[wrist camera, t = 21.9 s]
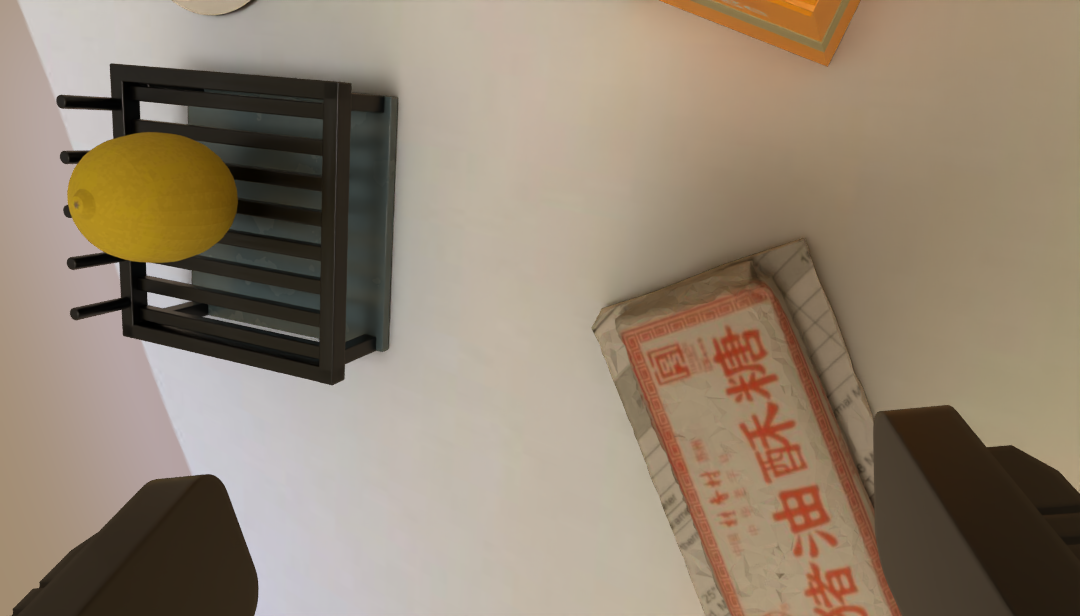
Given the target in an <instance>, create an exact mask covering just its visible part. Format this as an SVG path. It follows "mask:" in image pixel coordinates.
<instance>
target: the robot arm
mask: <svg viewBox="0 0 1080 616" xmlns="http://www.w3.org/2000/svg"><path fill="white" fill-rule="evenodd" d="M873 454H874V512H875V535H876V542H877V548H878V553H879V558H880V562H881V566H882V569H883V573H884V576H885V579H886V581H887V584H888V586H889V588H890V591H891V593H892V595H893V597H894V599H895V601H896V604H897V606H898V608H899V610H900V612H901V614H902V616H1080V494H1079V492H1078V491H1077V490H1076V489H1075V488H1074V487H1073V486H1072V485H1071V484H1070V483H1069V482H1068V481H1067V480H1066V479H1065V477H1064V476H1063V475H1062V474H1061V473H1060V472H1059V471H1057V470H1056V469H1054V468H1052V467H1050V466H1048V465H1047V464H1045V463H1043V462H1041V461H1039V460H1038V459H1036V458H1034V457H1032V456H1030V455H1028V454H1027V453H1025V452H1023V451H1021V450H1019V449H1018V448H1016V447H1014V446H1012V445H1009V446H998V447H986V446H985V445H984V444H983V443H982V441H981V440H980V439H979V438H978V436H977V435H976V434H975V433H974V432H973V430H972V429H971V428H970V427H969V425H968V424H967V423H966V422H965V421H964V419H963V418H962V417H961V416H960V415H959V413H958V412H957V411H956V410H955V409H954V408H953V407H952V406H950V405H942V406H931V407H921V408H910V409H900V410H890V411H880V412H877V414H876V416H875V419H874V425H873ZM257 602H258V578H257V573H256V570H255V567H254V564H253V561H252V558H251V556H250V553H249V550H248V547H247V545H246V542H245V539H244V536H243V534H242V531H241V528H240V525H239V523H238V520H237V517H236V515H235V512H234V509H233V506H232V504H231V501H230V498H229V495H228V493H227V490H226V488H225V486H224V484H223V483H222V482H221V480H220V479H219V478H217V477H216V476H214V475H210V474H206V475H195V476H185V477H175V478H165V479H156V480H152V481H150V482H148V483H147V484H146V485H144V486H143V487H142V488H141V489H140V490H139V491H138V492H137V493H136V494H135V495H134V496H133V497H132V498H131V499H130V500H129V501H128V502H127V503H126V504H125V505H124V507H123V508H121V510H120V511H119V512H118V513H117V514H116V515H115V516H114V517H113V518H112V519H111V520H110V521H109V522H108V523H107V524H106V525H105V526H104V527H103V528H102V529H101V530H100V531H99V532H98V533H96V534H95V535H93V536H92V537H90V538H89V539H88V540H86V541H84V542H83V543H81V544H80V545H78V546H77V547H76V548H74V549H73V550H71V551H70V552H69V553H68V554H67V555H66V556H65V557H64V558H63V559H62V560H61V561H60V562H59V563H58V564H57V565H56V566H55V567H54V568H53V569H52V570H51V571H50V572H49V573H48V574H47V575H46V576H45V577H44V578H43V579H42V580H41V581H40V587H39V588H37V589H32V590H31V591H30V592H29V593H28V594H27V595H26V596H25V597H24V599H22V600H21V602H19V603H18V604H17V606H16V607H14V608H13V615H12V616H254V614H255V611H256V607H257Z"/></svg>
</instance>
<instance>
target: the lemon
mask: <svg viewBox="0 0 1080 616" xmlns="http://www.w3.org/2000/svg"><path fill="white" fill-rule="evenodd" d="M67 192H68V194H67V195H68V206H69V210H70V214H71V216H72V218H73V221H74V222H75V224H76V226H77V228H78V229H79V230H80V232H81V233H82V234H83V235H84V236H85V238H86V239H87V240H88V241H89V242H90V243H92V244H93V245H94V246H96V247H97V248H99V249H100V250H102V251H103V252H105V253H107V254H109V255H112V256H115V257H118V258H122V259H125V260H129V261H135V262H151V263H164V262H175V261H179V260H183V259H186V258H189V257H192V256H195V255H198V254H200V253H203V252H205V251H206V250H208V249H210V248H211V247H212V246H213V245H215V244H216V243H217V242H219V241H220V240H221V239H222V238H223V237H224V235H225V234H226V233H227V231H228V230H229V228H230V227H231V225H232V223H233V220H234V218H235V215H236V212H237V205H238V197H237V188H236V185H235V181H234V178H233V176H232V174H231V172H230V170H229V168H228V167H227V166H226V165H225V163H224V162H223V161H222V160H221V158H220V157H219V156H218V155H216V154H215V153H214V152H213V151H211V150H210V149H209V148H208V147H207V146H205V145H203V144H201V143H199V142H197V141H194V140H192V139H190V138H187V137H184V136H180V135H176V134H168V133H158V132H143V133H136V134H131V135H127V136H123V137H118V138H115V139H112V140H109V141H106V142H104V143H102V144H100V145H98V146H96V147H95V148H94V149H92V150H91V151H89V152H88V153H87V154H86V155H84V156H83V157H82V159H81V160H80V161H79V163H78V164H77V165H76V167H75V168H74V170H73V173H72V175H71V178H70V181H69V185H68V191H67Z"/></svg>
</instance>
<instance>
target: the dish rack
mask: <svg viewBox="0 0 1080 616" xmlns="http://www.w3.org/2000/svg"><path fill="white" fill-rule="evenodd" d="M110 79H111V97H112V98H107V97H90V96H73V95H59V96H58V97H57V99H56V102H57V105H58V106H59V107H60V108H63V109H88V110H112V118H113V139H115V138H118V137H123V136H127V135H131V134H136V133H143V132H158V133H168V134H176V135H180V136H184V137H187V138H190V139H192V140H194V141H197V142H199V143H201V144H203V145H205V146H207V147H208V148H209V149H210V150H211V151H213V152H214V153H215V154H216V155H218V156H219V157H220V158H221V160H222V161H223V162H224V163H225V165H226V166H227V167H228V168H229V170H230V172H231V174H232V176H233V178H234V181H235V185H236V188H237V197H238V205H237V212H236V215H235V218H234V220H233V223H232V225H231V227H230V228H229V230H228V231H227V233H226V234H225V235H224V237H223V238H222V239H221V240H220V241H219V242H217V243H216V244H215V245H213V246H212V247H211V248H210V249H208V250H206V251H205V252H203V253H200V254H198V255H195V256H192V257H189V258H186V259H183V260H179V261H175V262H164V263H156V264H161V265H167V266H172V267H177V268H182V269H188V270H192V284H187V283H182V282H177V281H172V280H167V279H162V278H157V277H151V276H146V262H135V261H129V260H125V259H122V258H118V257H115V256H112V255H109V254H107V253H105V252H103V253H96V254H90V255H83V256H76V257H70V258H69V259H68V260H67V265H68V267H69V268H70V269H72V270H75V269H81V268H87V267H93V266H99V265H105V264H111V263H117V262H119V264H120V284H121V298H118V299H113V300H109V301H104V302H100V303H95V304H90V305H85V306H81V307H76V308H73V309H71V311H70V315H71V317H72V318H73V319H74V320H79V319H84V318H88V317H92V316H96V315H101V314H105V313H109V312H114V311H118V310H122V326H123V336H126V337H130V338H136V339H139V340H144V341H148V342H152V343H156V344H161V345H165V346H169V347H173V348H178V349H182V350H186V351H190V352H195V353H199V354H203V355H207V356H212V357H216V358H220V359H224V360H229V361H233V362H237V363H241V364H245V365H250V366H254V367H258V368H262V369H267V370H271V371H275V372H279V373H284V374H288V375H292V376H296V377H301V378H305V379H309V380H313V381H318V382H320V383H325V384H329V385H334V384H336V383H338V382H340V381H342V380H344V376H345V364H347V363H349V362H351V361H354V360H356V359H358V358H360V357H363V356H365V355H367V354H369V353H372V352H374V351H380V352H383V351H386V350H388V337H389V312H390V286H391V260H392V234H393V208H394V183H395V157H396V131H397V105H398V98H397V97H391V96H380V95H369V94H359V93H351V92H352V84H351V83H345V82H335V81H322V80H310V79H297V78H285V77H273V76H260V75H248V74H235V73H223V72H210V71H198V70H186V69H173V68H161V67H148V66H136V65H123V64H110ZM140 101H144V102H154V103H164V104H174V105H184V106H188V124H179V123H170V122H161V121H152V120H143V119H140ZM90 151H91V150H90ZM88 152H89V151H63V152H61V154H60V159H61V161H62V162H63V163H64V164H78V163H79V161H80V160H81V159H82V157H83V156H84V155H86V154H87V153H88ZM63 211H64V214H65V216H66V217H68V218H72V216H71V214H70V210H69V206H68V205H66V206H65V207H64V209H63ZM147 292H151V293H155V294H160V295H165V296H170V297H175V298H179V299H184V300H189V301H192V302H188V303H183V304H179V305H175V306H171V307H167V308H159V307H154V306H149V305H148V304H147ZM206 315H211V316H216V317H221V318H225V319H230V320H235V321H239V322H244V323H249V324H253V325H258V326H263V327H267V328H272V329H277V330H281V331H286V332H291V333H296V334H300V335H305V336H310V337H314V338H319V342H317V341H312V340H307V339H303V338H298V337H293V336H289V335H284V334H279V333H275V332H270V331H265V330H261V329H256V328H251V327H247V326H242V325H238V324H233V323H228V322H224V321H219V320H214V319H210V318H205V317H203V316H206Z"/></svg>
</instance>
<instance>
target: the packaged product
mask: <svg viewBox="0 0 1080 616" xmlns="http://www.w3.org/2000/svg"><path fill="white" fill-rule="evenodd" d="M592 330H593V332H594V334H595V336H596V338H597V340H598V342H599V344H600V346H601V350H602V354H603V356H604V357H605V360H606V362H607V365H608V368H609V371H610V373H611V376H612V379H613V381H614V383H615V386H616V388H617V391H618V393H619V396H620V398H621V401H622V403H623V406H624V408H625V411H626V414H627V416H628V419H629V421H630V423H631V425H632V427H633V430H634V434H635V437H636V439H637V441H638V444H639V446H640V449H641V452H642V454H643V456H644V459H645V461H646V464H647V468H648V471H649V474H650V476H651V479H652V482H653V484H654V486H655V488H656V490H657V492H658V494H659V496H660V500H661V503H662V506H663V509H664V511H665V514H666V516H667V518H668V521H669V523H670V526H671V528H672V530H673V533H674V535H675V538H676V541H677V544H678V546H679V549H680V551H681V553H682V555H683V557H684V560H685V563H686V566H687V569H688V572H689V575H690V577H691V580H692V583H693V585H694V588H695V590H696V593H697V595H698V598H699V600H700V603H701V605H702V608H703V610H704V613H705V616H902V614H901V612H900V610H899V608H898V606H897V604H896V601H895V599H894V597H893V595H892V593H891V591H890V588H889V586H888V584H887V581H886V579H885V576H884V573H883V569H882V566H881V562H880V558H879V553H878V548H877V542H876V535H875V512H874V454H873V425H874V420H873V417H872V414H871V411H870V408H869V405H868V402H867V399H866V396H865V393H864V390H863V388H862V386H861V384H860V382H859V380H858V378H857V376H856V375H855V373H854V371H853V369H852V363H851V360H850V357H849V354H848V351H847V349H846V346H845V343H844V340H843V338H842V335H841V332H840V329H839V327H838V324H837V321H836V318H835V316H834V313H833V311H832V309H831V306H830V304H829V302H828V300H827V297H826V295H825V293H824V291H823V289H822V286H821V284H820V282H819V280H818V277H817V274H816V271H815V268H814V265H813V262H812V259H811V256H810V253H809V250H808V247H807V244H806V241H805V238H802V239H799V240H796V241H792V242H789V243H786V244H783V245H780V246H777V247H774V248H771V249H768V250H765V251H762V252H759V253H756V254H753V255H750V256H747V257H744V258H741V259H738V260H735V261H732V262H729V263H726V264H723V265H721V266H718V267H716V268H713V269H711V270H708V271H706V272H703V273H700V274H698V275H695V276H693V277H690V278H688V279H685V280H683V281H680V282H678V283H675V284H673V285H670V286H668V287H665V288H663V289H660V290H658V291H655V292H652V293H649V294H646V295H643V296H640V297H636V298H633V299H630V300H627V301H624V302H621V303H618V304H615V305H612V306H609V307H605V308H602V309H601V311H600V313H599V315H598V317H597V319H596V321H595V323H594V324H593V326H592Z"/></svg>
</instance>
